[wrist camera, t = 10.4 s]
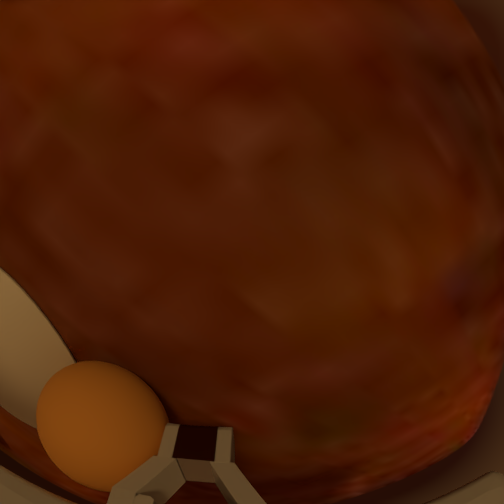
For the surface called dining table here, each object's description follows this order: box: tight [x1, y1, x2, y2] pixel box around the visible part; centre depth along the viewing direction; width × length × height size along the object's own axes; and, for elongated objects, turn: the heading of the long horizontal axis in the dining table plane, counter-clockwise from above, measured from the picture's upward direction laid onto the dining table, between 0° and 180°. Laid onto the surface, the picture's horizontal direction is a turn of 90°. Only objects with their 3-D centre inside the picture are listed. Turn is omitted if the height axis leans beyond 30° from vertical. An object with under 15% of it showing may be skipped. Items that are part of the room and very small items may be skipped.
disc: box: [0, 267, 77, 428], centre depth 11 cm, size 13×13×1 cm
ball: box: [36, 361, 169, 492], centre depth 9 cm, size 6×6×6 cm
